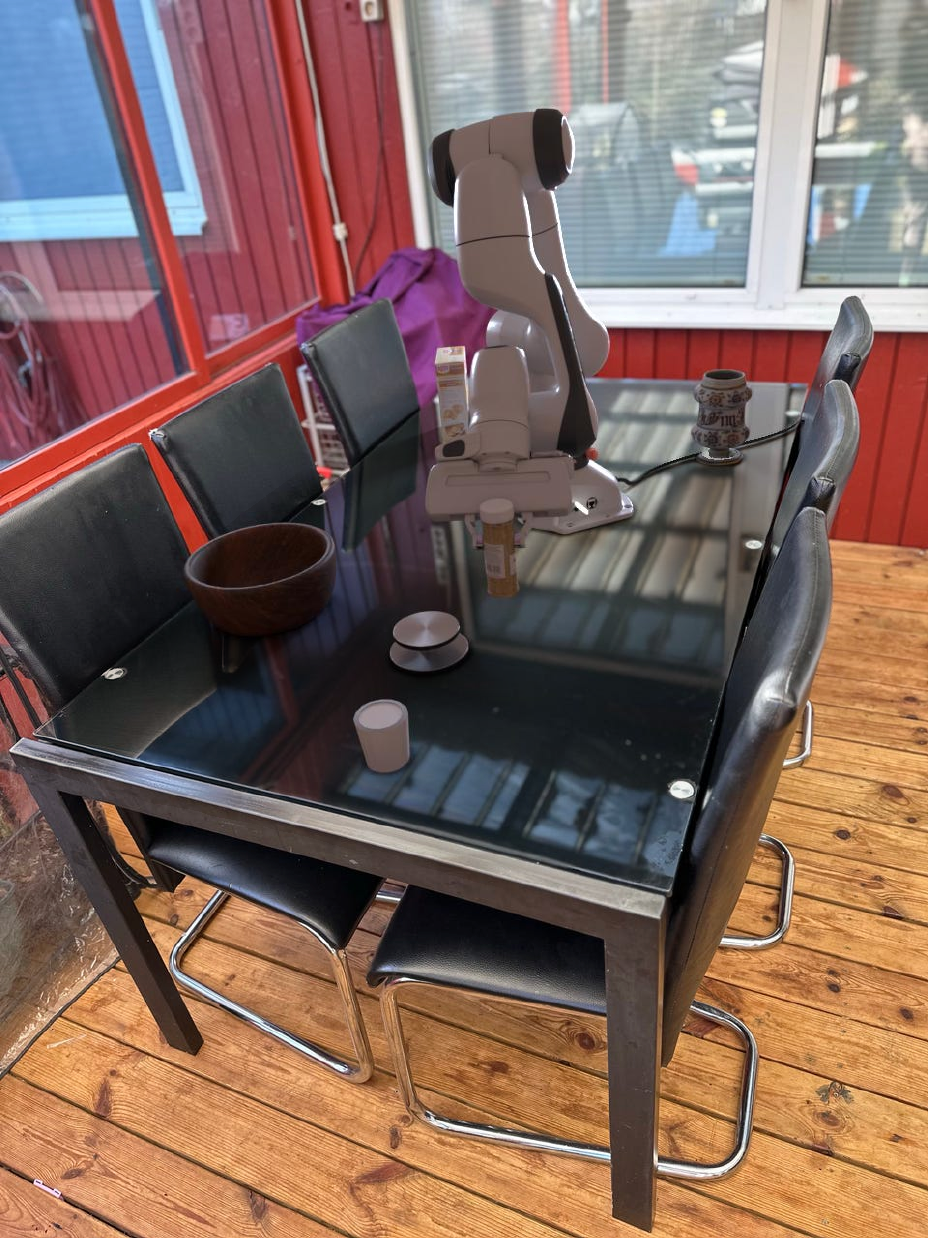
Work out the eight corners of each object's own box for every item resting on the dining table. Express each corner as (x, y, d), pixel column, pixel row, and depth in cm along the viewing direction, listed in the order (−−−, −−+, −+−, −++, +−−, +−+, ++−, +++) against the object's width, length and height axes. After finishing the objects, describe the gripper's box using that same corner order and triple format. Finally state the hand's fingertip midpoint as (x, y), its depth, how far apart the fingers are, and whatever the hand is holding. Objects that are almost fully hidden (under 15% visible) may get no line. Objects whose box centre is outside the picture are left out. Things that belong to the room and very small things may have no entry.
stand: (460, 626, 141) (458, 602, 138) (475, 666, 131) (473, 641, 128) (386, 639, 139) (382, 615, 137) (395, 681, 129) (391, 656, 127)
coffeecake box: (471, 442, 213) (464, 361, 203) (442, 444, 213) (433, 363, 203) (472, 422, 226) (465, 344, 216) (444, 424, 226) (436, 347, 216)
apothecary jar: (755, 451, 192) (762, 368, 183) (737, 470, 183) (743, 384, 174) (701, 444, 198) (705, 364, 189) (681, 463, 190) (684, 380, 180)
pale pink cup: (362, 744, 117) (353, 702, 114) (413, 738, 117) (406, 695, 114) (360, 779, 111) (352, 735, 108) (415, 772, 111) (408, 728, 108)
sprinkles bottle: (525, 592, 124) (520, 503, 117) (499, 603, 122) (492, 514, 115) (506, 580, 127) (500, 494, 120) (480, 591, 125) (472, 504, 118)
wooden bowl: (275, 661, 137) (261, 603, 132) (166, 627, 149) (150, 573, 144) (373, 588, 154) (364, 534, 149) (268, 562, 167) (257, 513, 162)
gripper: (574, 458, 125) (576, 552, 122) (432, 465, 128) (430, 557, 125) (573, 439, 119) (575, 537, 116) (423, 447, 122) (421, 543, 119)
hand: (498, 548), depth 120 cm, fingers closed on sprinkles bottle, 4 cm apart
